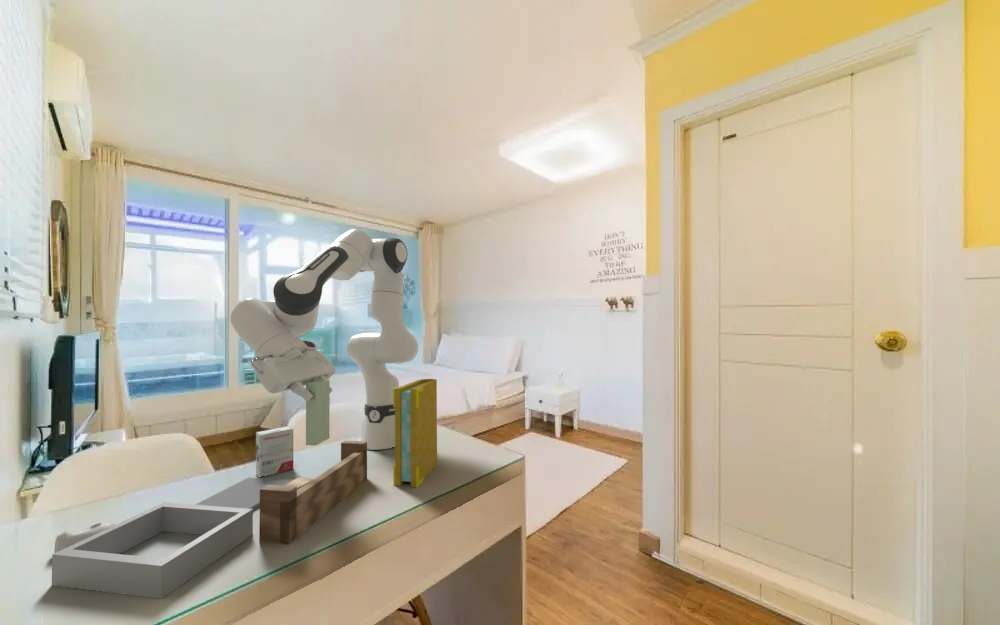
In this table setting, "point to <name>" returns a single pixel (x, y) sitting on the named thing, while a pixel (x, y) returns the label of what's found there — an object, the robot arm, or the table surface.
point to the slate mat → (242, 494)
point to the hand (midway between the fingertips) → (320, 395)
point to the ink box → (274, 451)
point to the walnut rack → (310, 496)
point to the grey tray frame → (112, 572)
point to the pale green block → (318, 412)
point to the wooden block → (299, 482)
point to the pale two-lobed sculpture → (78, 536)
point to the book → (415, 431)
